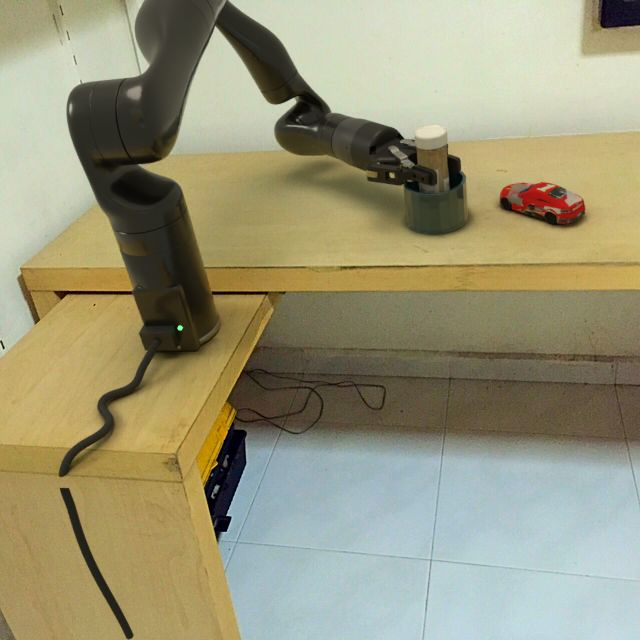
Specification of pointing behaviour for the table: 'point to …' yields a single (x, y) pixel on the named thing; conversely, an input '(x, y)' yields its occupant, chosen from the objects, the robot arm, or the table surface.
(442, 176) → the sprinkles bottle
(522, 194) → the race car
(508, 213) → the table surface
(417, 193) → the cup
